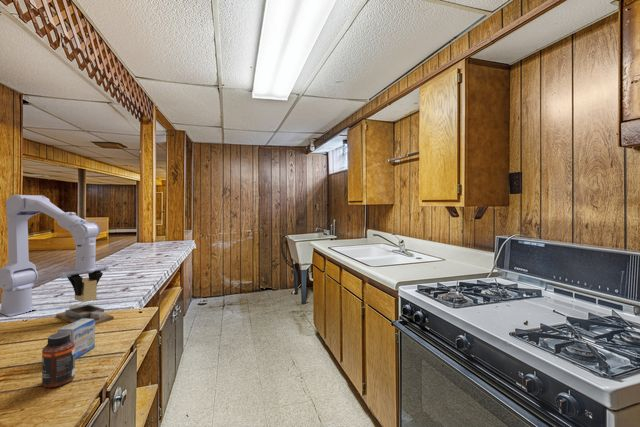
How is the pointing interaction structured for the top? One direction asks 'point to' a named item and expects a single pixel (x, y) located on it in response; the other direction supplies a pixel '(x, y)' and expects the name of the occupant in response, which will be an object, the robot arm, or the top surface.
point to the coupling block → (87, 290)
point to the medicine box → (81, 335)
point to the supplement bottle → (58, 360)
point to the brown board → (85, 314)
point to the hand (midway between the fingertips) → (85, 293)
